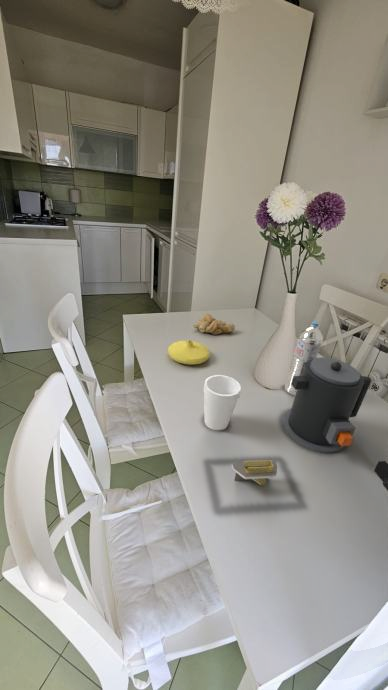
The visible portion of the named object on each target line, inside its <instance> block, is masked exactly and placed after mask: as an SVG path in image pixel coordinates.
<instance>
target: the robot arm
mask: <svg viewBox="0 0 388 690" xmlns="http://www.w3.org/2000/svg"><path fill="white" fill-rule="evenodd" d="M373 472H374V473H375V474H376V475H377V477H378V478H379V479H380V481H381V482H382V486H383V487H384V488H385V490H386V491H387V492H388V462H387V461H386V460H378V462H377V464H376V465H375V468H374V470H373Z"/></svg>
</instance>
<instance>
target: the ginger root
mask: <svg viewBox="0 0 388 690" xmlns="http://www.w3.org/2000/svg"><path fill="white" fill-rule="evenodd" d="M192 326H193V328H194V329H198V331H199V332H200V333H210V334H211V335H215V336H216V335H219V334H227V333H232V332H234V330H235V324H234V323H232V322H231V323H226V321H223V320H222V319H221V320H219V319H218V320H217V319H216V318H215V317H213V316H212V315H211V314H210V313H207V312H206V313H205V314H204V315H203V317H202V318H199V319H198V322H197V324H194V325H192Z"/></svg>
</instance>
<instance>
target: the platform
mask: <svg viewBox="0 0 388 690" xmlns="http://www.w3.org/2000/svg"><path fill="white" fill-rule="evenodd" d="M231 468H232V471H234V472H235V475H234V479H233V481H234V482H235V481H237V482H238V481H254V482H255V483H256V484H258V485H260V486H264V487H265V486H266V482H267V480H269V479H274V478H276V477H277V475H278V474H277V473H278V464H277V462H276V461H275V460H271V459H262V460H245V461H238V462H237V461H234V462H232V463H231Z"/></svg>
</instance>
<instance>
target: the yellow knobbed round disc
mask: <svg viewBox="0 0 388 690" xmlns="http://www.w3.org/2000/svg"><path fill="white" fill-rule="evenodd" d="M167 353H168V357H169V358H171V359H172V360H173V361H174V362H176V363H180V364H184V365H200V364H202V363H205V362H206V361H208V359H209V358H210V356H211V352H210V349H209V348H208V346H206V345H205V344H203V343H201V342H197V341H193V340H191V339H188V340H179V341H175V342H173V343H171V344H170V345H169V347H168V348H167Z"/></svg>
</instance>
